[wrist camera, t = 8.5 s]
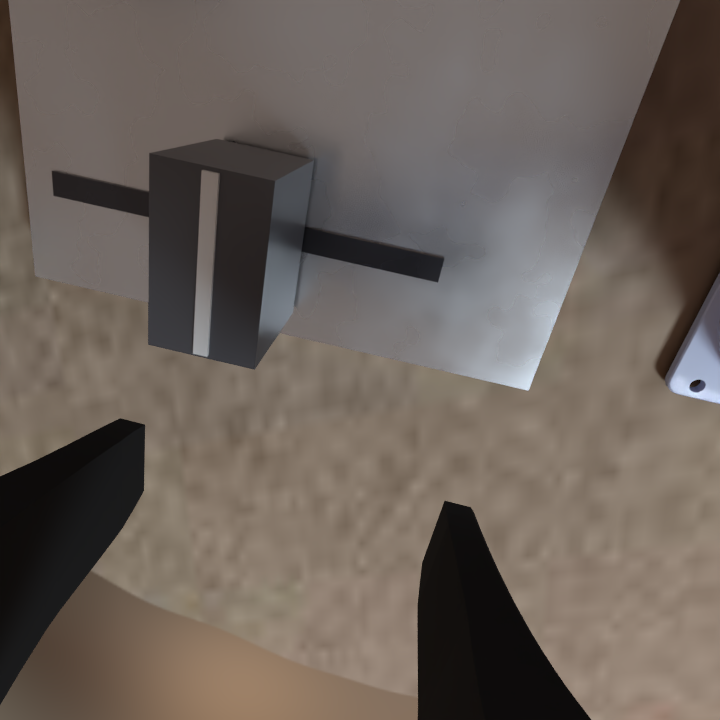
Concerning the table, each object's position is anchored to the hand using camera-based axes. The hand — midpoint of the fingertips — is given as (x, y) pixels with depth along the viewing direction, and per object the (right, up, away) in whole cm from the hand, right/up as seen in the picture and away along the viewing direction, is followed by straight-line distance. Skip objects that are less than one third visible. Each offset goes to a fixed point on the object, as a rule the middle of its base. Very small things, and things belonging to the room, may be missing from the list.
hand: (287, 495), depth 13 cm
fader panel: (+1, +12, +4) cm, 13 cm away
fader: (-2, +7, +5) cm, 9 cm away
